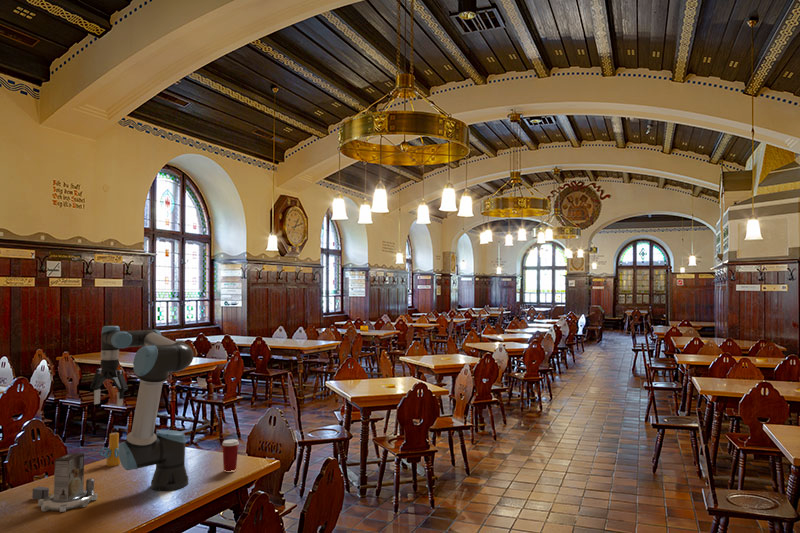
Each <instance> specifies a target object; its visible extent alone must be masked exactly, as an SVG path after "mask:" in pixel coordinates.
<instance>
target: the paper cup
mask: <svg viewBox="0 0 800 533" xmlns="http://www.w3.org/2000/svg"><path fill="white" fill-rule="evenodd" d="M221 445H222V456H223V457H222V460H223V462H222V463H223V471H224V470H226V471H231V470H235V469H236V470H237V463H238V454H239V452H238V451H239V445H240V443H239V439H235V438H234V439H233V438H231V439H225V440H223V441H222V444H221Z"/></svg>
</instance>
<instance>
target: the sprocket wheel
mask: <svg viewBox="0 0 800 533" xmlns="http://www.w3.org/2000/svg"><path fill="white" fill-rule="evenodd" d="M97 499H98V493H97V492H95V478H88V479H86V481H85V489H83V493H82V494H80V495H78V496H77V497H75V498H73V499H71V500H69V501H54V492H51V493H49V496H48V497H46V498H45V499H39V500H37V502H38V503H37V507H41V508H40V509H41V510H40V511H41V512H44V513H45V512H47V511H54V512H55V511H59V513H61V512H62V513H63V512H64V513H65V512H67V511H68V510H72V509H76V508H84V507H88V505H89V503H90V502H92V501H97Z"/></svg>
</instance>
